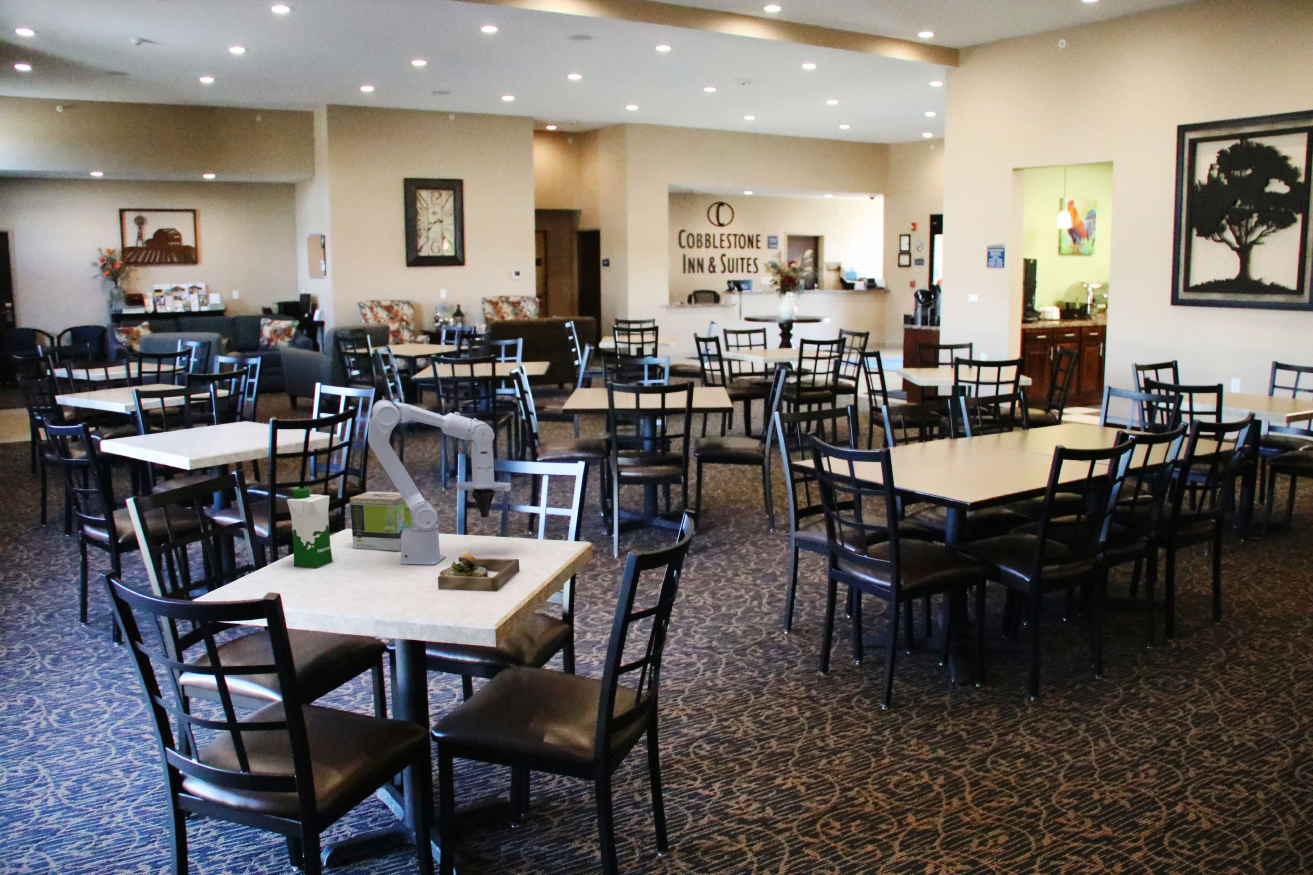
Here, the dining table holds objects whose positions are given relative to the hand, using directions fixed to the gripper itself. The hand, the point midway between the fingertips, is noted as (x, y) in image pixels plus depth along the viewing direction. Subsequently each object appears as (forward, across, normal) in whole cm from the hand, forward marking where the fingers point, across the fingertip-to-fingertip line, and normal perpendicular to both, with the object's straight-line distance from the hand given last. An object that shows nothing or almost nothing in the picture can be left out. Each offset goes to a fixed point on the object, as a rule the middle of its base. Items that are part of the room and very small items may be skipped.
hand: (485, 516), depth 277 cm
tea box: (+11, -32, +6) cm, 34 cm away
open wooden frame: (+10, +6, -23) cm, 26 cm away
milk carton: (+11, -43, -14) cm, 46 cm away
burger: (+11, +2, -21) cm, 24 cm away
